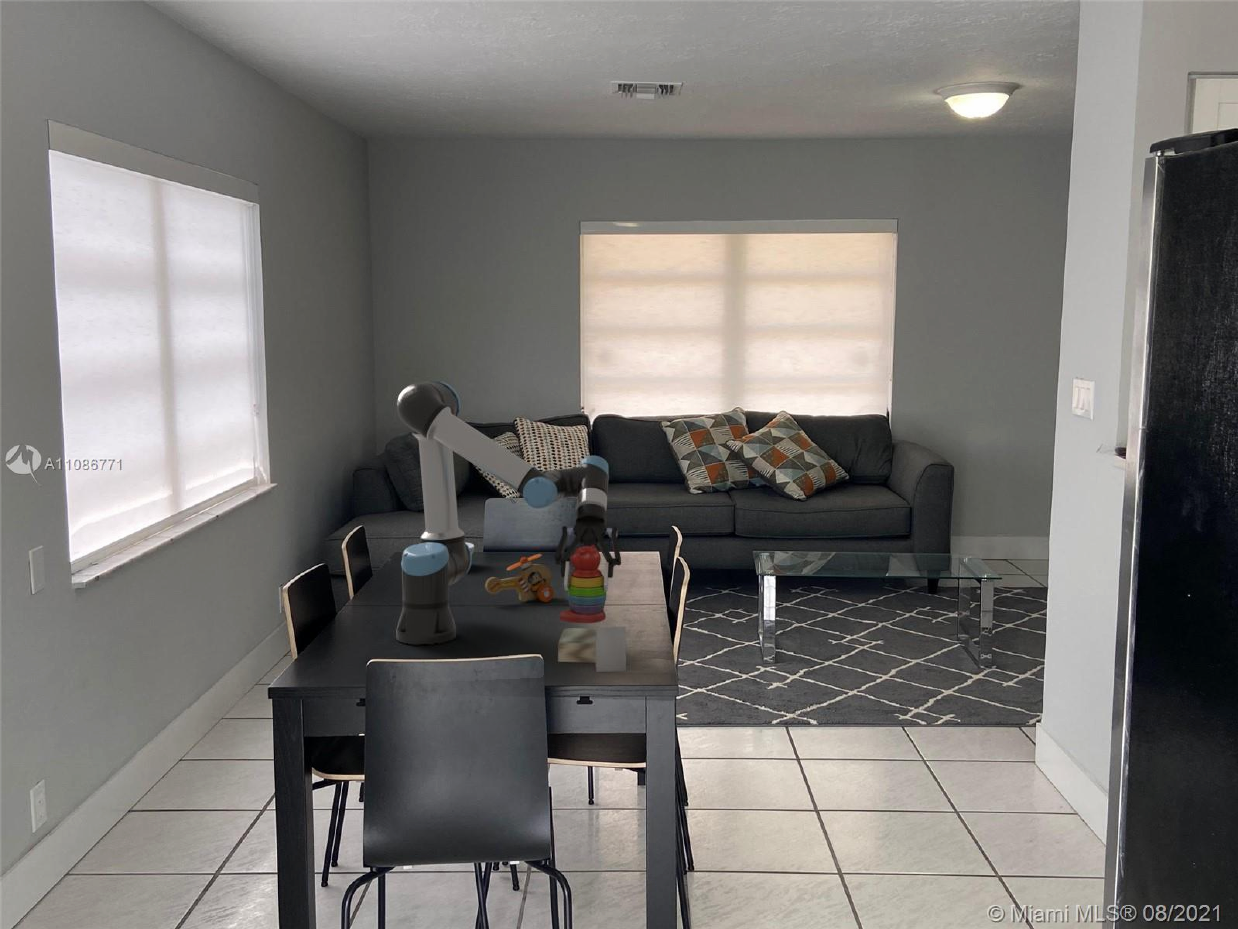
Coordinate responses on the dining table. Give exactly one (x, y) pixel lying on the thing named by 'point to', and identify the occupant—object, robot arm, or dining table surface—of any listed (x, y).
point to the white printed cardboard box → (610, 649)
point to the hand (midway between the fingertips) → (585, 587)
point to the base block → (577, 645)
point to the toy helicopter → (525, 581)
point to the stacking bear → (585, 588)
